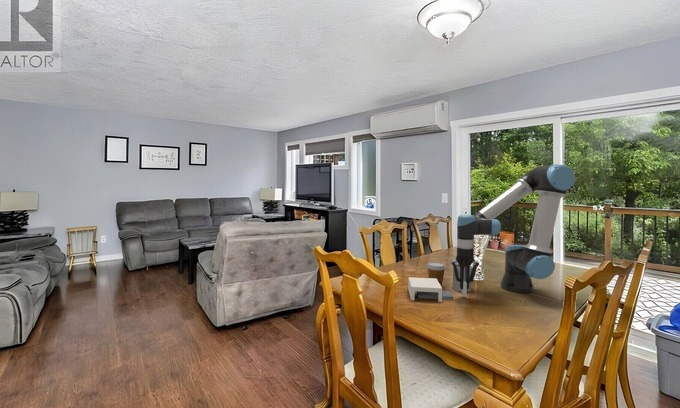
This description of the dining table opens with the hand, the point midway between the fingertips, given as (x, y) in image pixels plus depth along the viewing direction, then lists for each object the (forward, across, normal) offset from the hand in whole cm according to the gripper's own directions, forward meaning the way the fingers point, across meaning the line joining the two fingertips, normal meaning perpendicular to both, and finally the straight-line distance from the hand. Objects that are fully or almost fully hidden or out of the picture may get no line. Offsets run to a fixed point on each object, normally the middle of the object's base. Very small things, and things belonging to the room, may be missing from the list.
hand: (464, 295), depth 154 cm
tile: (+1, +14, 0) cm, 14 cm away
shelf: (+1, +19, 0) cm, 19 cm away
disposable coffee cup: (+1, +11, -15) cm, 18 cm away
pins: (+1, +24, 0) cm, 24 cm away
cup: (+1, -2, -13) cm, 13 cm away
